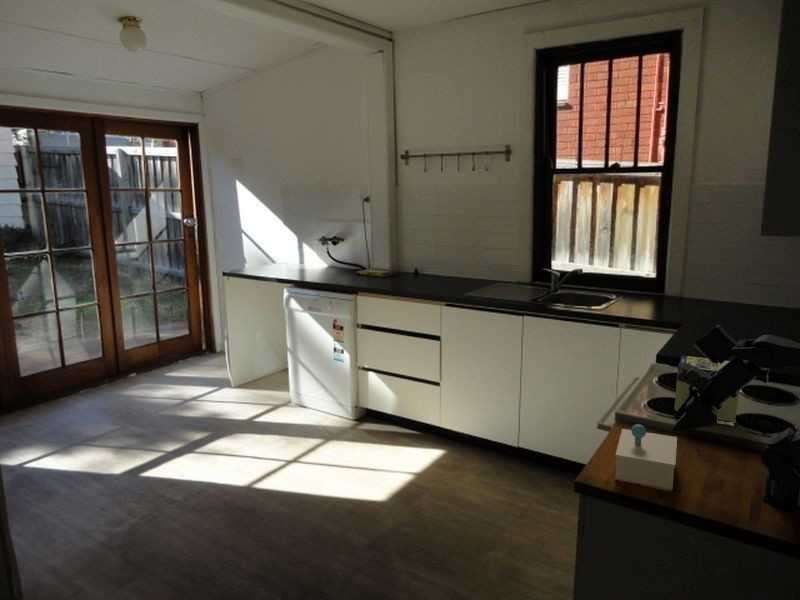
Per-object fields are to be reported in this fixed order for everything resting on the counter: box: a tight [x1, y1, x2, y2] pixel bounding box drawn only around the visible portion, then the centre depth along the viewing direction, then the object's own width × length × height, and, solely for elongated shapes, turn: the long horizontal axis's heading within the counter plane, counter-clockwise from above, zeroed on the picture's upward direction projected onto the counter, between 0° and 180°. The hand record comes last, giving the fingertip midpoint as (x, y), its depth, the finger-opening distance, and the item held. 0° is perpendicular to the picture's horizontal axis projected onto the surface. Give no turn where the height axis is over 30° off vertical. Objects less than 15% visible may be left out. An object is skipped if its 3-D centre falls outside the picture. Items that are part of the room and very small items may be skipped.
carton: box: [614, 457, 675, 492], centre depth 138 cm, size 12×14×6 cm
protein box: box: [674, 355, 740, 422], centre depth 165 cm, size 10×16×16 cm
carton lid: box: [615, 423, 678, 468], centre depth 136 cm, size 12×14×6 cm
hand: (675, 422), depth 134 cm, fingers open, 9 cm apart
